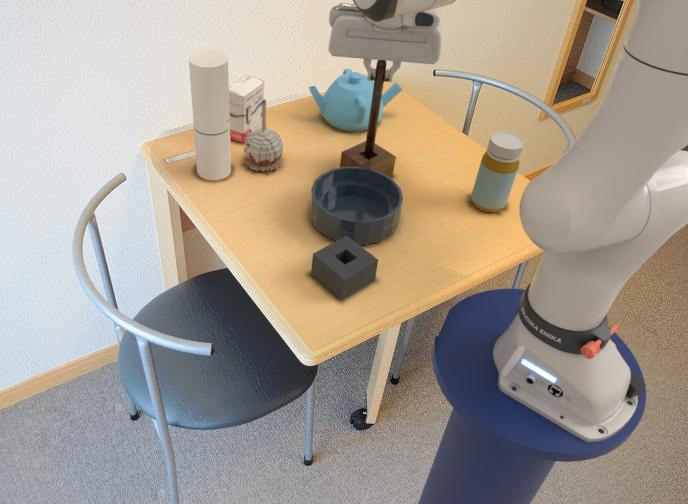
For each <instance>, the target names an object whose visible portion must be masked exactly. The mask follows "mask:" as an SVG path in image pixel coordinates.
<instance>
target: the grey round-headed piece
mask: <svg viewBox="0 0 688 504" xmlns="http://www.w3.org/2000/svg"><path fill="white" fill-rule="evenodd" d="M266 121H267V99H265V98H264V99H263V100H262V128H260V129H259V128H257V129H256V130H254V131H253V132H252V133H250V134H249V137H248V138H247V140H246V141H245V142H244V143H245V144H244V153H245V158H244V161H245V165H246V166H247V167H248V169H251V170H254V171H256V172H259V171H261V172H264V173H265V172H268V171H270V172H271V171H273V170H277V169H278V168H279V167H280V166H282V165H283V157H282V156H283V150H284V143H283V140H282V138H281V136H280V134H278V133H277V132H276V131H275V130H273V129H271V128H268V127H267V123H266Z"/></svg>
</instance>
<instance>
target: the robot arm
mask: <svg viewBox="0 0 688 504" xmlns="http://www.w3.org/2000/svg"><path fill="white" fill-rule="evenodd" d="M456 1H457V0H352V2H353V4H352V3H351V4H350V3H345V2H341V3H338V4H337V5H334V6H333V7H331V9H330V10H329V15H328V23H329V25H330V27H331V30H330V35H329V41H328V49H327V50H328V53H329V54H330V55H331V56H332V57H339V58H349V59H350V58H352V59H361V60H362V59H363V63H362V64H363V66H364V68H365V70H366V72H367V75H366V76H367V80H370V81H373V82H374V81H375V76H376V67H375V68H373V67H372V65H371V64H372V61H373V60H375V61H378V60H386V62H392V65H391V66H390V68H389V69H388V68H386V71H385V77H384V83H392V81H393V77H394V74H396V72H397V71H398V70H399V69H400V68H401V65H402V64H401V63H411V64H412V63H413V64H423V65H435V64H436V63H437V62H439V61H440V59H441V53H442V29H441V24H440V23H441V16H442V15H441V14H442V13H441V8H442V7H446V6H449V5H452V4H453V3H455V2H456ZM687 146H688V0H637V4H636V10H635V13H634V16H633V19H632V22H631V25H630V26H629V29H628V32H627V35H626V37H625V39H624V42H623V45H622V48H621V51H620V53H619V56H618V58H617V61H616V63H615V66H614V68H613V71H612V74H611V76H610V79H609V81H608V83H607V86H606V88H605V91H604V93H603V96H602V98H601V100H600V102H599V104H598V106H597V108H596V110H595V111H594V113H593V115H592V116H591V118H590V119H589V120H588V122H587V124H586V125H585V126H584V127H583V129H582V130H581V132H580V133H579V135H577V137H576V138H575V139H574V141H573V142H572V143H571V144H570V145H569V147H568V148H567V149H566V150H565V151H564V152H563V153H562V155H561V156H560V157H559V158H558V159H557V160H556V161H555V162H554V163H552V165H550V166H549V167H548V168H547V169H546V170H544V171H542V173H540V174H538V175H537V176H536V177H534V178H533V179H531V180H530V181H529V182H528V183H527V184H526V186H525V187H524V189H523V191H522V194H521V197H520V200H519V207H518V212H519V213H518V214H519V220H520V224H521V227H522V229H523V231H524V233H525V235H526V236H527V238H528V239H529V240H530V241H531V242H532V243H533V244H534V245H535V246H536V247H537V248H538V249H541V250H543V251H544V252H543V254H542V256H541V259H540V262H539V264H538V266H537V269H536V271H535V274H534V276H533V278H532V281H531V283H529V284H528V285H527V286H526V287H525V289H524V290H525V291H524V293H523V295H522V297H521V299H520V302H519V306H518V309H517V312H518V313H517V315H516V317H515V319H514V320H513V322H512V323H511V325H510V326H509V327H508V329H507V330H506V331H505V332H504V333H503V334H502V335H501V336H500V337H499V338H498V339H497V341H496V343H495V345H494V348H493V358H494V362H495V365H496V367H497V370H498V374H499V376H498V387H499V389H500V390H501V391H502V392H503V393H505V394H506V395H508V396H510V397H511V398H513V399H515V400H516V401H518V402H520V403H521V404H523V405H525V406H526V407H528V408H530V409H531V410H533V411H535V412H536V413H538V414H540V415H541V416H543V417H545V418H546V419H548V420H550V421H551V422H553V423H555V424H556V425H558V426H560V427H561V428H563V429H565V430H566V431H568V432H570V433H571V434H573V435H575V436H576V437H578V438H580V439H582V440H583V441H585V442H598V441H602V440H605V439H608V438H609V437H611V436H613V435H614V434H616V433H617V432H618V431H620V430H621V429H622V428H623V427H624V426H625V425H626V424H627V423H628V421H629V420H630V419H631V417H632V415H633V413H634V411H635V409H636V407H637V402H638V396H637V395H639V394H640V393H641V392H642V390H643V389H644V387H646V386H647V384H646V382H645V383H644V382H643V381H642V380H641V379H639V378H638V377H637V376H636V375H635V374H634V373H633V372H632V371H631V370H630V368H629V367H628V365H627V364H626V362H625V361H624V359H623V358H622V356H621V355H620V353H619V352H618V350H617V349H616V345H615V344H614V343H613V342H612V341H611V340H610V337H611V335H612V334H613V333H614V332H615V333H616V331H617V329H618V327H619V325H620V324H619V323H616V324H615V325H614V326H612V327H610V326H609V324H608V312H609V311H610V309H611V307H612V305H613V303H614V302H615V300H616V299H617V297H618V295H619V294H620V292H621V290H622V288H623V287H624V286H625V284H626V283H627V282H628V280H629V279H630V278H631V277H632V276H633V275H634V274H635V273H636V272H637V271H638V270H639V268H641V267H642V266H643V265H644V264H645V263H646V262H647V261H648V260H649V259H650V258H651V257H652V256H653V255H654V254H655V253H656V252H657V251H658V250H659V249H660V248H661V247H662V246H663V245H664V244H665V243H666V242H667V241H668V240H669V239H670V238H671V237H673V236H674V235H675V234H676V233H677V232H678V231H680V230H681V229H682V228H684V227H685V226H686V225H688V151H687V150H682V149H684V148H686V147H687ZM609 328H611V329H609ZM512 389H514V390H515V391H514V390H512ZM628 404H630V405H628ZM599 431H600V432H601V433H600V432H599Z"/></svg>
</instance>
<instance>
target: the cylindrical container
mask: <svg viewBox="0 0 688 504" xmlns="http://www.w3.org/2000/svg"><path fill="white" fill-rule="evenodd" d="M188 56H189V57H188V64H189V65H188V66H189V67H188V68H189V80H190V95H191V106H192V107H191V109H192V122H193V134H194V135H193V136H194V148H195V162H196V164H195V165H196V172H197V175H198V176H199V177H200V178H202V179H204V180H207V181H220V180H224V179H226V178H227V177H229V175H231V173H232V153H231V152H232V151H231V150H232V149H231V146H232V145H231V138H230V113H229V87H230V83H229V82H230V81H229V80H230V79H229V57H228V55H227V54H226V53H225V52H223V51H220V50H217V49H211V48H208V49H207V48H206V49H199V50H197V51H194V52H192V53H191V54H190V55H188Z"/></svg>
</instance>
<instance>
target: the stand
mask: <svg viewBox="0 0 688 504" xmlns="http://www.w3.org/2000/svg"><path fill="white" fill-rule="evenodd" d="M311 259H312V261H311V271H310V274H311V275H312V276H313V277H314V278H315V279H316V280H317V281H318V282H320V283H321V284H322V285H323V286H324V287H325V288H326V289H328V290H329V291H331V293H332V294H333V295H334V296H336V297H337V298H338V299H339V300H340V301H343V300H345V299H346V298H348V297H350V296H352V295H353V294H355V293H356V292H358V291H360V290H361V289H363V288H364V287H366V286H368V285H370V284H371V283H373V282H375V281H376V276H377V270H378V265H379V259H378V258H377V257H375V255H373V254H371V252H369V251H368V250H366V249H365V248H364V247H362V246H361V244H357V243H356V242H355V241H353V240H352V239H351V238H350V237H348V236H345V237H343V238H341V239H339V240H337V241H336V240H334V242H332V243H330V244H328V245H326V246H325V247H323V248H320V249H318V250H317V251H315V252H313V253H312V258H311Z"/></svg>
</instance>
